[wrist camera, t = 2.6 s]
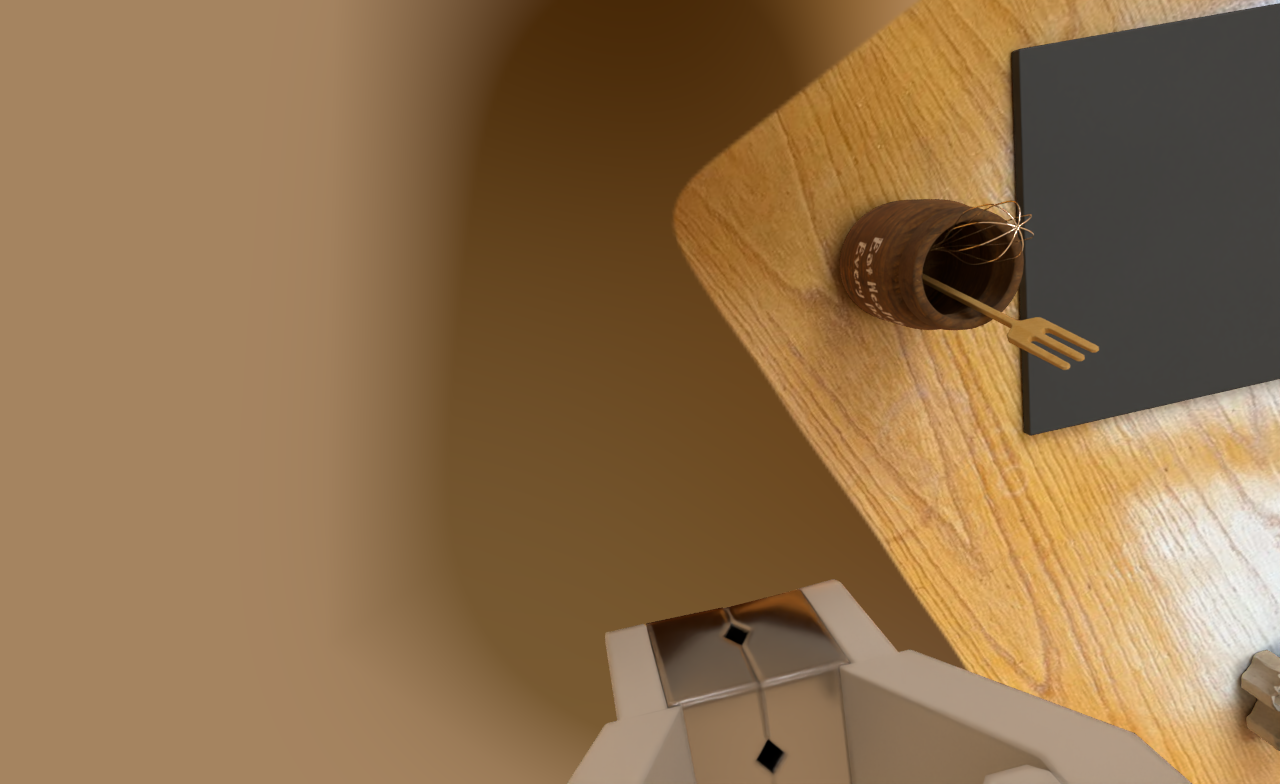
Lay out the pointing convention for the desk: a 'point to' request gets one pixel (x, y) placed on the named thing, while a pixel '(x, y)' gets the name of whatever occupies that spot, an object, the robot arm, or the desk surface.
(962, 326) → the utensil holder
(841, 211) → the desk surface
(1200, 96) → the desk mat
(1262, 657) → the egg carton
